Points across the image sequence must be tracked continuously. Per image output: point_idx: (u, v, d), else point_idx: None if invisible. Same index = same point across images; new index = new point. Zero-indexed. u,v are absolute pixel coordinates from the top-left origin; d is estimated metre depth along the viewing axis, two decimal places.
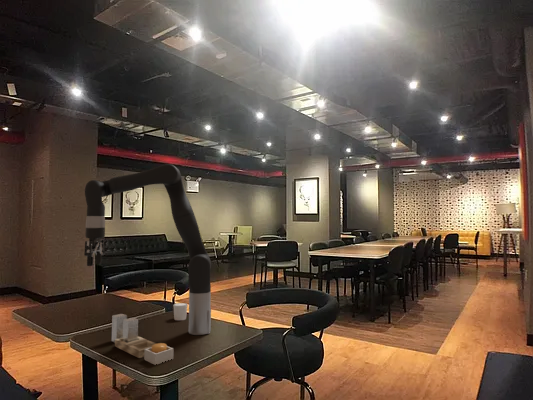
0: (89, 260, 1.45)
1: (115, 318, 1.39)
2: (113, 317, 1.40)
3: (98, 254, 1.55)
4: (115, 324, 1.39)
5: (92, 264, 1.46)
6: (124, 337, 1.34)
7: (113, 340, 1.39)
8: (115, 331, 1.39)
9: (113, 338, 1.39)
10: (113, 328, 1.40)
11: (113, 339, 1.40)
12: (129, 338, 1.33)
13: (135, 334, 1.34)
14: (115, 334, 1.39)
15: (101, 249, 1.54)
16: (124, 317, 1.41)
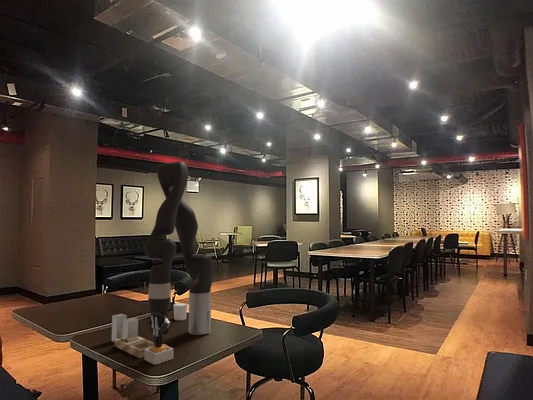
0: None
1: (115, 318, 1.39)
2: (113, 317, 1.40)
3: None
4: (115, 324, 1.39)
5: (154, 345, 1.21)
6: (124, 337, 1.34)
7: (113, 340, 1.39)
8: (115, 331, 1.39)
9: (113, 338, 1.39)
10: (113, 328, 1.40)
11: (113, 339, 1.40)
12: (129, 338, 1.33)
13: (135, 334, 1.34)
14: (115, 334, 1.39)
15: (155, 327, 1.21)
16: (124, 317, 1.41)
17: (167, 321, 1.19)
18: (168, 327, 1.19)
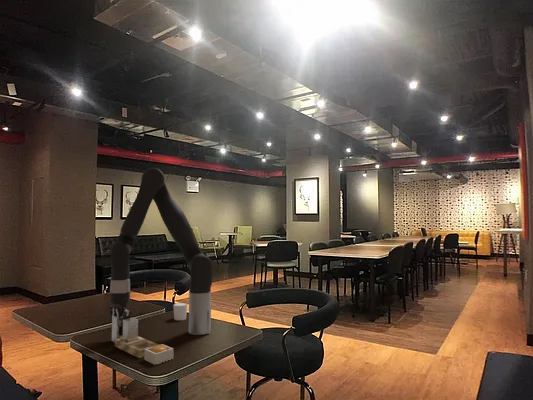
0: None
1: (115, 318, 1.39)
2: (113, 317, 1.40)
3: None
4: (115, 324, 1.39)
5: None
6: (124, 337, 1.34)
7: (113, 340, 1.39)
8: (115, 331, 1.39)
9: (113, 338, 1.39)
10: (113, 328, 1.40)
11: (113, 339, 1.40)
12: (129, 338, 1.33)
13: (135, 334, 1.34)
14: (115, 334, 1.39)
15: None
16: None
17: (126, 310, 1.38)
18: (128, 315, 1.38)
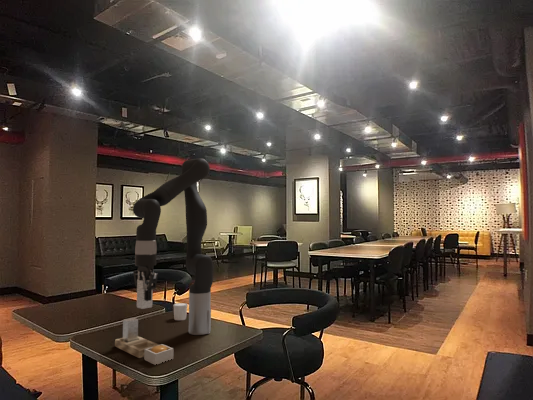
0: None
1: (141, 282, 1.28)
2: (138, 281, 1.29)
3: None
4: (141, 288, 1.28)
5: None
6: (124, 337, 1.34)
7: (138, 306, 1.28)
8: (141, 296, 1.27)
9: (138, 304, 1.28)
10: (138, 293, 1.28)
11: (138, 305, 1.28)
12: (129, 338, 1.33)
13: (135, 334, 1.34)
14: (141, 299, 1.27)
15: None
16: None
17: (153, 273, 1.26)
18: (155, 279, 1.26)
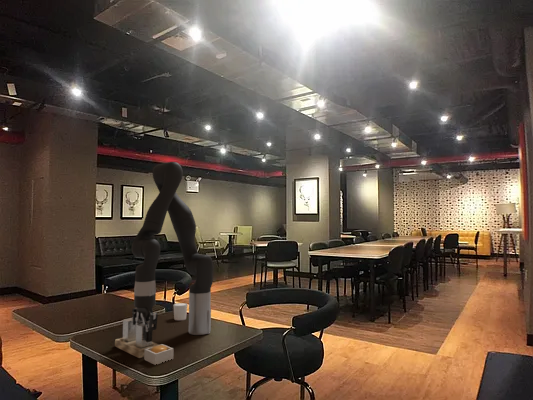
0: None
1: (140, 328, 1.27)
2: (137, 326, 1.28)
3: None
4: (140, 334, 1.26)
5: None
6: (124, 337, 1.34)
7: None
8: (140, 342, 1.26)
9: None
10: (137, 339, 1.27)
11: None
12: (129, 338, 1.33)
13: (135, 334, 1.34)
14: (140, 345, 1.26)
15: (143, 323, 1.26)
16: None
17: (152, 313, 1.25)
18: (155, 319, 1.25)
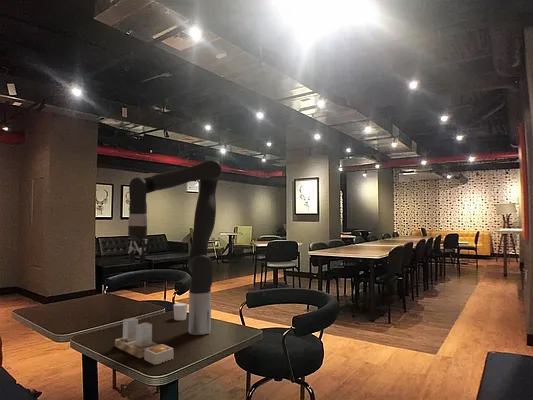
0: None
1: (140, 328, 1.27)
2: (137, 326, 1.28)
3: None
4: (140, 334, 1.26)
5: (129, 261, 1.50)
6: (124, 337, 1.34)
7: None
8: (140, 342, 1.26)
9: None
10: (137, 339, 1.27)
11: None
12: (129, 338, 1.33)
13: (135, 334, 1.34)
14: (140, 345, 1.26)
15: (136, 248, 1.45)
16: (149, 326, 1.28)
17: (144, 239, 1.45)
18: (147, 243, 1.44)
